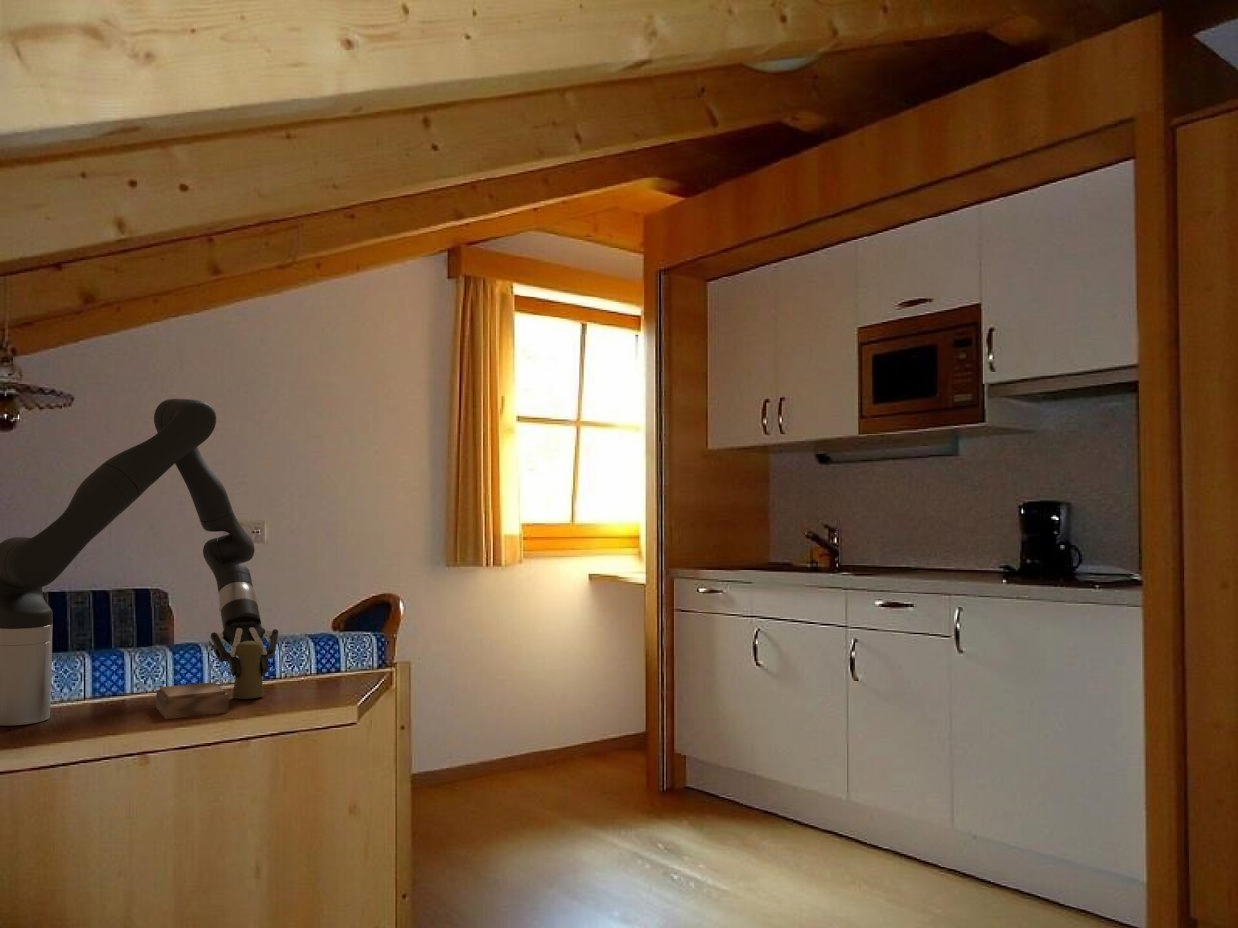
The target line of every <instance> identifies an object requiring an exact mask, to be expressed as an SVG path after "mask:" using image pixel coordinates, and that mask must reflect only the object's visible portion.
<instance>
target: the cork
mask: <svg viewBox="0 0 1238 928" xmlns="http://www.w3.org/2000/svg"><path fill="white" fill-rule="evenodd" d="M263 646H264V645H263ZM263 646H262V644H261V643H260V642H257V641H244V642H241V643H239V644H238V645H237V647H236V654H237V656H236V657H238V660H239V666H240V676H239V678H235V677H234V685H233V689H232V698H234V699H242V700H245V699H257V698H262V697H264V686H263V676H261V664H260V656H261V655H262V653H263Z"/></svg>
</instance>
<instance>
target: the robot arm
mask: <svg viewBox="0 0 1238 928" xmlns="http://www.w3.org/2000/svg"><path fill="white" fill-rule="evenodd" d="M153 423H154V428H155V430H156V432H157V433H156V434H155V435H153V436H152V437H150V438H149V439H147V440H144V441H143V442H141V443H138V444H136V445H134V446H132V447H129V448H127V449H124V451H121V452H119V453H117V454H116V455H114V456H112V457H110V458H109V459H107V460H106V461H105V462H103V463H102V464H101V465H100V466H98V467H97V468H96V469H95V470H93V471H92V472H91V473H90V474H89V475H88V476H87V477H86V478H84V479H83V481H82V482H81V483H80V484H79V486H78V487H77V489H76V490H75V493H74V494H73V496H72V498H71V500H70V502H69V503H68V505H67V507H66V509H65V510H64V512H63V513H62V514H61V515H60V516H59V517H58V518H56V520H55V521H53V522H51V524H49V525H48V526H47V527H46V528H44V529H43V530H42V531H40V532H39V533H37V534H36V535H34V536H33V537H26V536H25V537H24V536H20V537H19V536H16V537H9V538H7V539H5V540H3V541H1V542H0V726H6V727H7V726H22V725H31V724H35V723H41V722H44V721H46V720H49V719H50V717H51V698H52V697H51V696H52V694H51V692H52V690H51V688H52V661H53V660H52V659H53V657H52V655H53V627H54V626H53V620H54V619H53V618H54V617H53V616H54V613H53V609H52V608H51V607H50V605H49V604H47V602H46V600H45V599H44V595H43V594H44V593H43V588H44V587H46V586H49V585H50V584H52V583H53V582H54V581H55V580H56V579H57V578H59V576H61V574H62V573H63V572H64V571H65V570H66V568H68V566H69V565H70V564H71V563H72V562H73V561H74V559H76V557H77V556H78V555H79V554H80V553H81V552H82V550H83V549H84V548H85V547H86V546H87V545H88V544H89V543H90V542H91V541H92V540H93V539H95V537H96V536H97V535H99V534H100V533H101V532H102V531H103V530H105V529H106V528H107V527H108V526H109V525H110V524H111V523H112V522H113V521H114V520H115V519H116V518H117V517H119V515H121V514H122V513H123V512H124V511H125V510H127V508H129V507H130V506H131V505H132V504H133V503H134V502H135V501H136V500H138V499H139V497H141V496H142V495H143V494H144V492H145V491H146V490H148V489H149V488H150V487H152V485H153V484H154V483H155V482H157V480H159V478H161V477H162V476H163V475H164V474H165V473H166V472H167V471H169V470H170V469H171V467H173V465H175V466H176V468H177V470H178V472H179V473H180V476H181V477H182V479H183V481H184V483H185V486H186V487H187V490H188V492H189V494H190V497H191V500H192V502H193V505H194V507H195V508H194V509H195V511H196V513H197V516H198V519H199V523H200V524H201V527H202V528H203V529H204V530H205V531H206V532H214V533H215V532H225V533H228V534H224V535H221V536H218V537H214V538H210V539H208V540H207V541H206V542H205V543H204V545H203V547H202V555H203V558H204V560H205V563H206V564H207V565H208V567H209V568H210V570H211V572H212V573H213V575H214V578H215V582H216V584H217V585H216V586H217V591H218V605H219V612H220V616H221V622H222V632H220V633H217V632H211V633H210V638H209V640H208V642H209V645H210V646H211V649H212V651H213V653H214V654H215V656H216V657H217V659H218V661H219V663H224V662H226V663H229V669H230V674H231V675H232V676H233V677H234V679H235V678H239V676H240V666H239V660H238V659H239V658H238V656H237V654H236V647H237V645H238V644H239V643H241V642H244V641H257V642H260V643H261V644H262V646H263V653H262V655H261V656H260V664H261V676H262V677H265V676H266V674H267V673H268V672H269V668H270V666H269V660H268V659H270V660H271V659H273V658H274V657H275V656H274V655H275V652H276V650H277V642H278V636H279V630H278V629H276V628H275V629H272V630H266V629H265V627H264V626H263V625H262V620H261V615H260V610H259V605H258V600H257V595H256V593H255V590H254V587H253V582H252V581H253V580H252V575H251V571H250V570H249V568H248V566H245V565H243V563H247V562H249V561H251V560H252V559H253V557H254V556H255V550H256V549H255V544H254V542H253V540H252V537H250V535H249V534H248V533H247V531H246V530H245V529H244V528H243V526H242V525H241V523H240V522H239V520H238V518H237V517H236V514H235V513H234V510H233V507H232V505H231V501H230V499H229V496H228V493H227V490H226V488H225V487H224V485H223V483H222V482H221V480H220V478H219V477H218V476H217V475H216V473H215V472H214V471H213V470H212V469H211V467H210V465H208V463H207V461H205V458H204V457H203V455H202V454H201V452H200V450H199V448H198V447H199V446H200V445H202V444H203V443H204V442H205V441H207V440H208V439H209V437H210V436H211V435H212V433H213V432H214V430H215V427H216V424H217V414H216V410H214V408H213V407H212V406H211V405H210V404H209V403H207V402H204V401H202V400H198V399H186V398H169V399H165V400H163V401H162V402H160V403H159V404H158V405H157V407H156V408H155V410H154V415H153ZM264 637H265V638H266V641H267V642H268V643H269V644H268V649H266V647H265V646H264V642H263V641H262V640H263V638H264ZM223 640H224V641H225V642H226V643H227V644H228V645H230V646H231V649H230V652H227V649H226V648H225V646H224V644H223Z"/></svg>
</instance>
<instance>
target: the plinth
mask: <svg viewBox="0 0 1238 928" xmlns="http://www.w3.org/2000/svg"><path fill="white" fill-rule="evenodd" d="M155 694H156V695H155V696H156V698H155V699H156V701H155V702H156V703H155V708H156V709H157V710H159V711H158V712H159V713H160V714H161V715H162V717H163V718H164V719H166V720H168V719H169V720H170V719H177V718H187V717H188V718H189V717H197V716H205V715H206V716H207V715H208V716H209V715H215V714H217V715H218V714H226V713H229V702H230V701H229V696H230V695H229V693H228V692H226V690H225V689H224V688H222V687H221V686H220V685H219V684H217V683H216V682H215V681H213V682H202V683H195V684H194V683H193V684H180V685H171V686H170V685H169V686H160V687H159V689H156V693H155Z"/></svg>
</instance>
